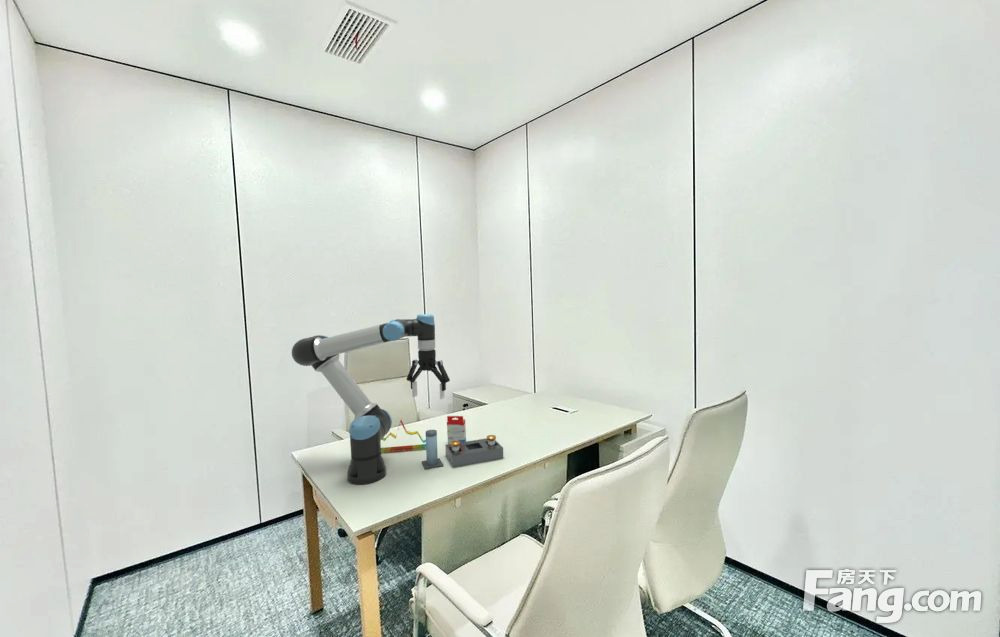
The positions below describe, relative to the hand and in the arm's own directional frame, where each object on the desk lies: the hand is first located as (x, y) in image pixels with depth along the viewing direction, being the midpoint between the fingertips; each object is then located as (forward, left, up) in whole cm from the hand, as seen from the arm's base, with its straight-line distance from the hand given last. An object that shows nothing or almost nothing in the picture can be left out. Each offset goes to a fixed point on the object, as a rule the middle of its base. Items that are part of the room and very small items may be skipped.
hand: (428, 397), depth 172 cm
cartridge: (0, -4, -28) cm, 28 cm away
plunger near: (+10, -4, -28) cm, 30 cm away
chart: (-13, +18, -29) cm, 37 cm away
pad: (0, -4, -29) cm, 29 cm away
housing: (+19, -4, -29) cm, 35 cm away
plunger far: (+27, -4, -28) cm, 39 cm away
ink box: (+16, +15, -29) cm, 36 cm away
